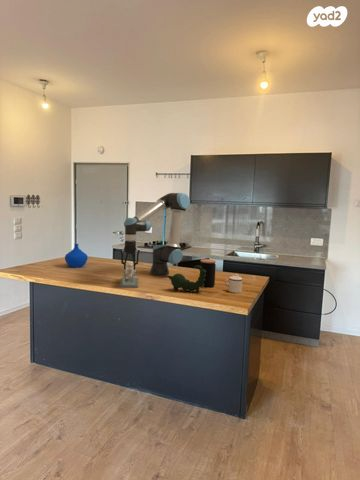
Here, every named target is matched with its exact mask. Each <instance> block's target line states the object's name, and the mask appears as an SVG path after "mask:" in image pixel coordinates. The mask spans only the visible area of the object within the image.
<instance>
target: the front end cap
mask: <svg viewBox="0 0 360 480" xmlns="http://www.w3.org/2000/svg"><path fill="white" fill-rule="evenodd" d="M122 278H123V279H122V285H135V281H136V278H137V275H136V276H133V281H125V276H124V275H123V276H122Z"/></svg>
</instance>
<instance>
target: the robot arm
mask: <svg viewBox="0 0 360 480" xmlns="http://www.w3.org/2000/svg"><path fill="white" fill-rule="evenodd" d="M190 206H191V200H190V197H189V196H188V194H187V193H183V192H169V193H167V194H165V195H163V196H161V197H160V198H158V199H156V202H154V203H153V204H152V205H150V206H148V207H147V208H145V209H144V210H143V211H141V212H140V213H137V215H135V216H134V217H126V218H125V220H124V221H123V227H124V247H123V248H121V249H120V261H121V265H123V270H125V274H126V267H127V261H128V256H129V255H131V258H132V262H133V263H132V264H133V269H132V275H134V271H136V266H137V265H138V264H139V254H140V252H141V251H140V249H137V246H136V245H137V241H136V240H137V232H149V231H150V230H151V229H152V223H151V222H150V219H152V218H153V217H154V216H155V215H157V214H159V213H160V212H161V211H165V210H167V209H170V212H171V219H170V226H169V233H168V239H167V240H168V241H167V243H166V244H158V245H157V244H156V245H153V247H152V264H151V267H150V270H149V274H150V275H154V276H169V274H170V270H169V266H168V264H173V265H176V264H179V263H180V262H181V261H182V259H183V256H184V255H183V251H182V248H181V247H182V246H181V245H180V241H181V233H182V232H181V231H182V227H183V226H182V225H183V218H184V214H185V213H186V211H187V209H188V208H189V207H190ZM124 252H125V253H126V254H125V256H124ZM135 252H136V258H135V254H134V253H135ZM124 257H125V259H124ZM135 259H136V260H135Z"/></svg>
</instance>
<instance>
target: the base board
mask: <svg viewBox="0 0 360 480" xmlns="http://www.w3.org/2000/svg"><path fill="white" fill-rule="evenodd" d="M122 279H123V277H120V283H119V288H120V289H129V288H130V289H138V288H139V278H138V277H136V281H135V285H122ZM125 281H133V279H125Z"/></svg>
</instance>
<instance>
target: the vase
mask: <svg viewBox="0 0 360 480" xmlns="http://www.w3.org/2000/svg"><path fill="white" fill-rule="evenodd" d="M88 259H89V258H88V255H87V254H86V253H85V252H84V251H82V249H80V248H79V243H74V247H73V249H71V250H70V251H69V252H68V253H66V254H65V256H64V260H65V263H66V265H67V266H69V267H70V268H82V267H83V266H85V265H86V263H87V261H88Z"/></svg>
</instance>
